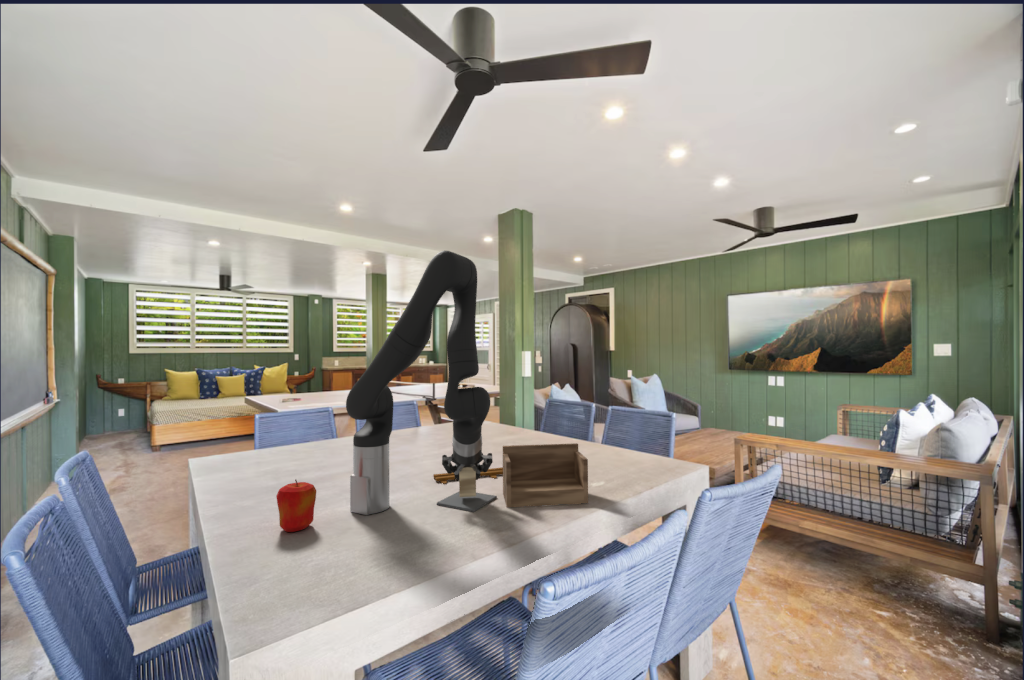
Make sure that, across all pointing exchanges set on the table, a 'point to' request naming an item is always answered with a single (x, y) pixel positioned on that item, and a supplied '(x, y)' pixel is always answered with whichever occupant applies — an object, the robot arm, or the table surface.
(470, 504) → the charcoal mat
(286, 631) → the table surface
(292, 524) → the apple
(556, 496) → the walnut cubby
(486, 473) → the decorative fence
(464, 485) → the maple block
